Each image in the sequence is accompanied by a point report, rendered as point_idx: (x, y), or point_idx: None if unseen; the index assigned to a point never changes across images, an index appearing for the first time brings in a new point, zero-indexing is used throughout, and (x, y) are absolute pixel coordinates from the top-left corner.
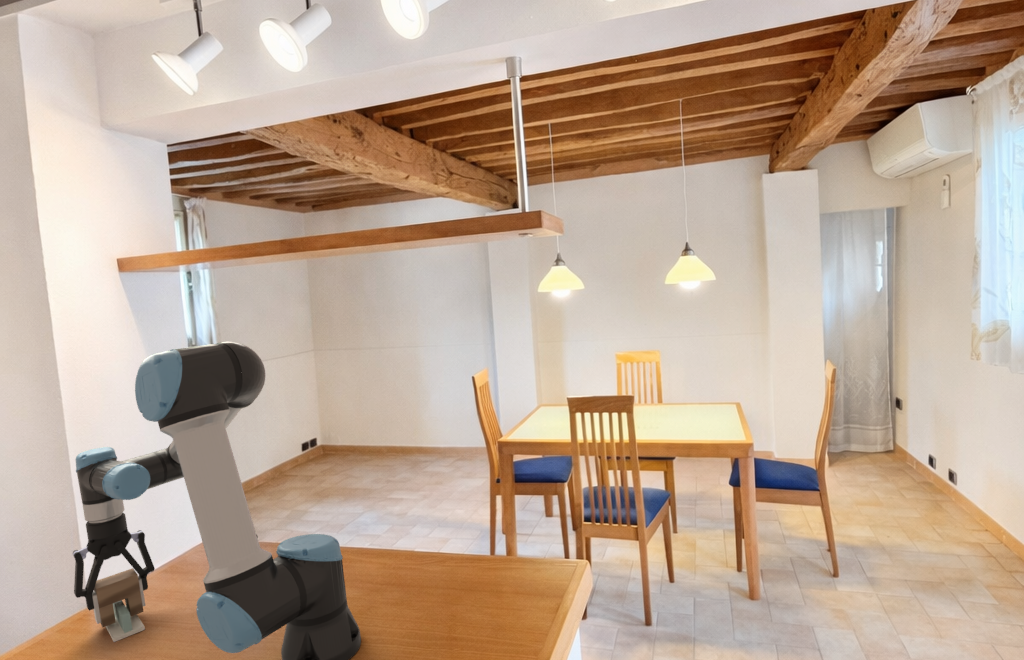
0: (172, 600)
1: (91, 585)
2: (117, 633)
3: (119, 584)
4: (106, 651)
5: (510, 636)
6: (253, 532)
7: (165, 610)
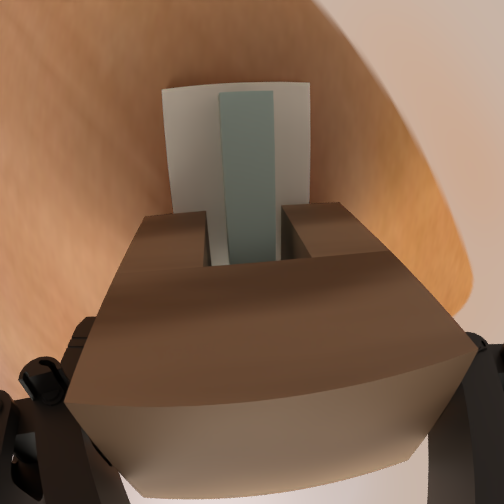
0: (55, 292)
1: (490, 398)
2: (284, 121)
3: (267, 364)
4: (340, 29)
5: None
6: None
7: (72, 223)
